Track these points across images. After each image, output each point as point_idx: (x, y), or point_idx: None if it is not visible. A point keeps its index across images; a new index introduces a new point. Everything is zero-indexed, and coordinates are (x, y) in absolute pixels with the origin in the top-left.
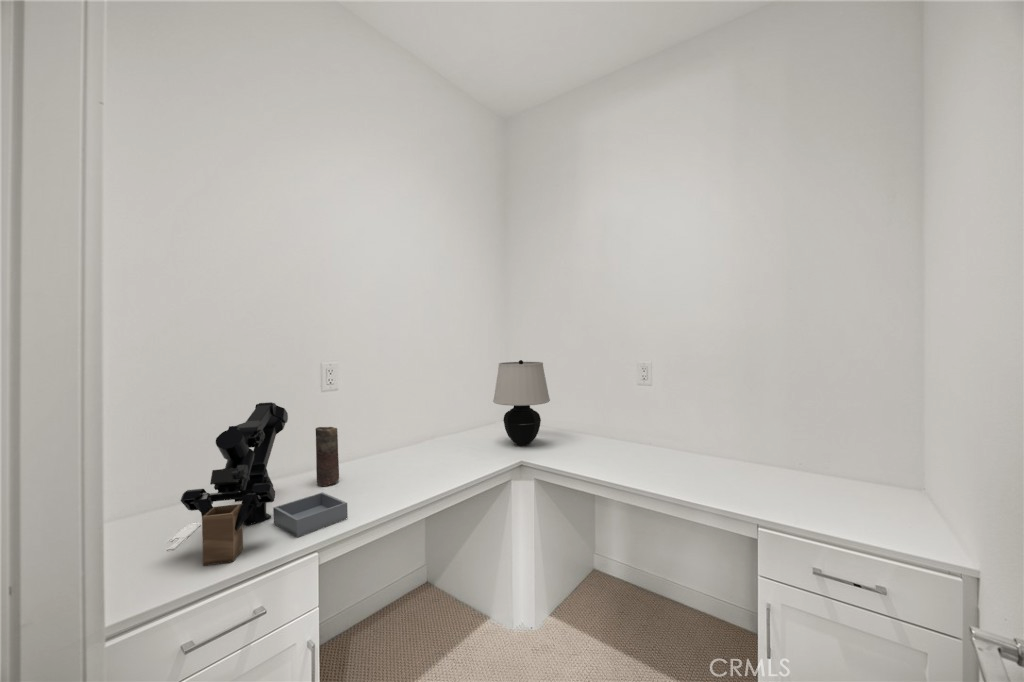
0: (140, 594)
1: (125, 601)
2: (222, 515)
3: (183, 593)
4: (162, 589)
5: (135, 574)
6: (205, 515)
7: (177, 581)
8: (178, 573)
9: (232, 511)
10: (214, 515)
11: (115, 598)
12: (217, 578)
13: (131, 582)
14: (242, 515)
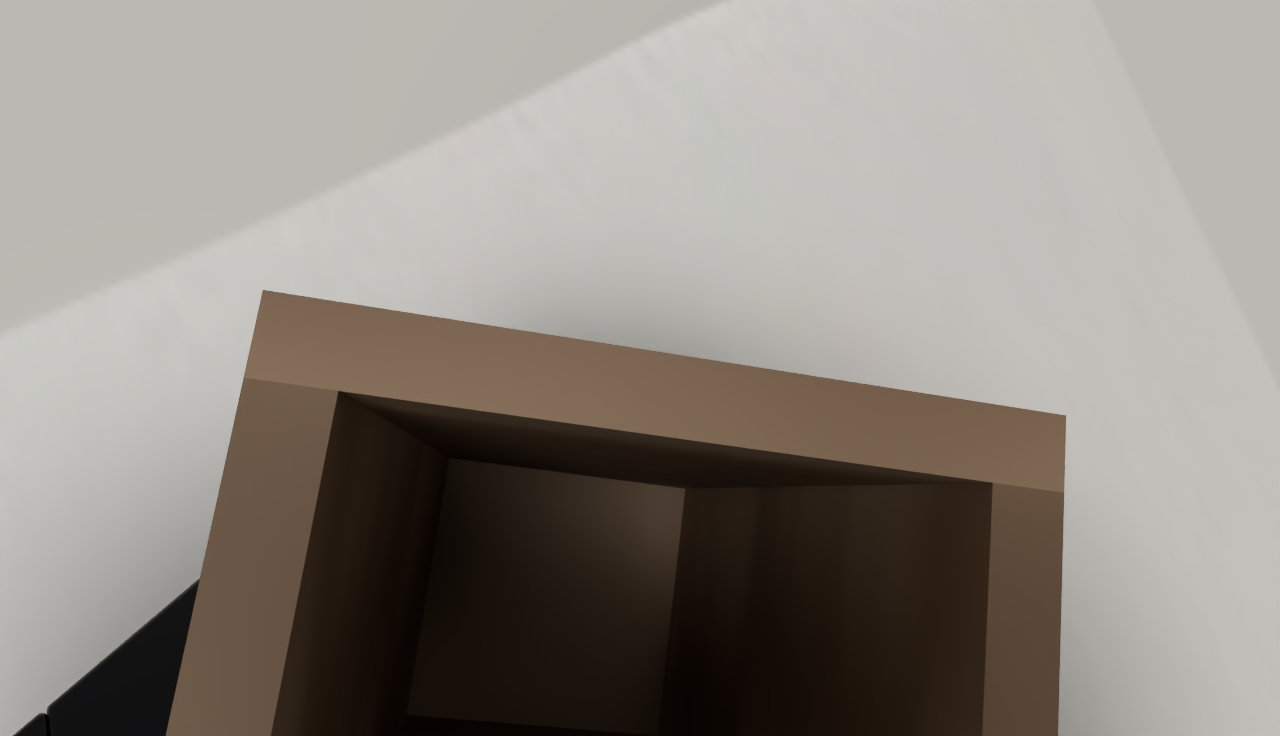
0: (1032, 166)
1: (1087, 109)
2: (551, 346)
3: (721, 18)
4: (904, 168)
5: (1228, 560)
6: (1020, 514)
7: (837, 254)
8: None
9: (289, 527)
10: (772, 392)
11: (1175, 191)
12: (511, 143)
13: (1188, 413)
14: (104, 662)
